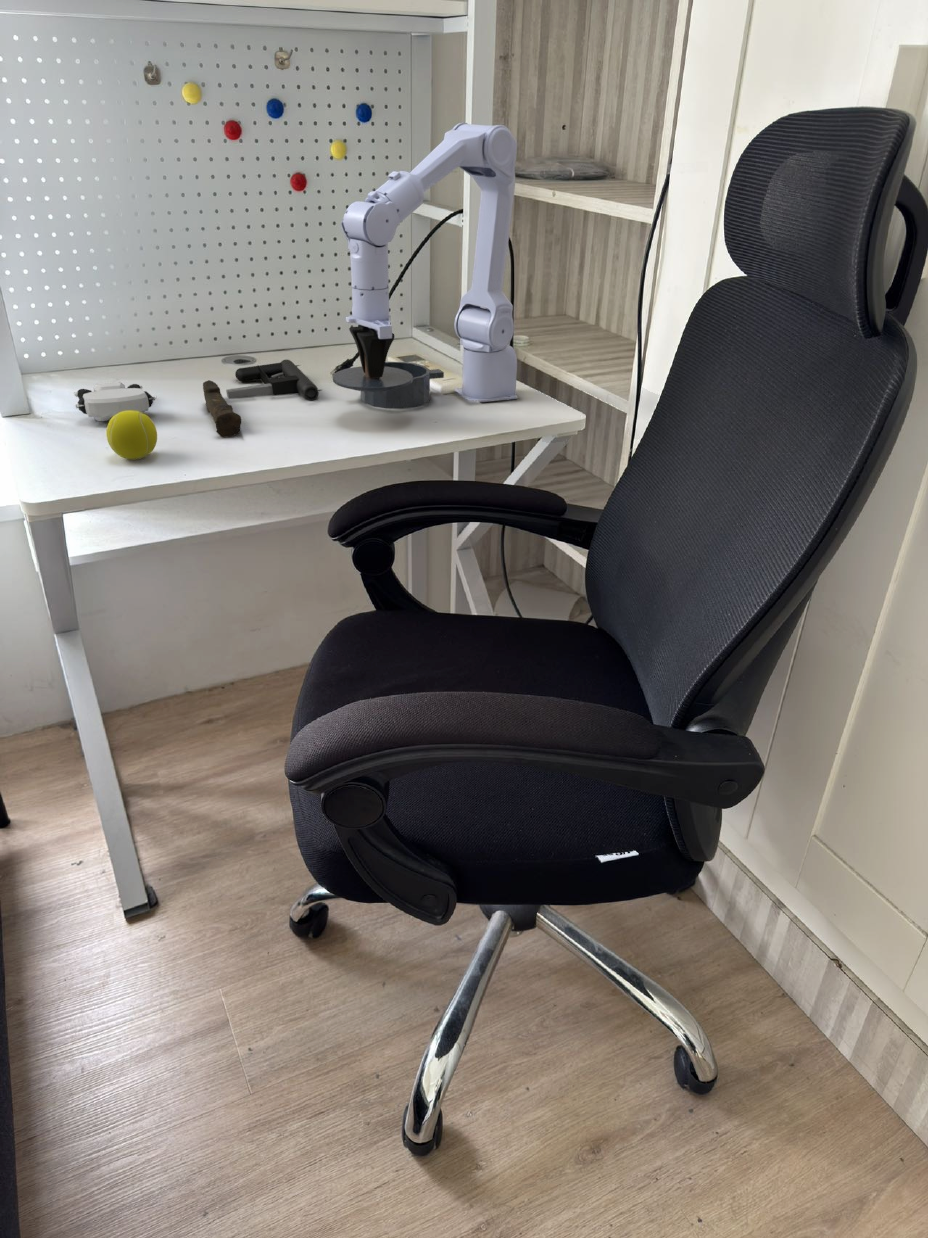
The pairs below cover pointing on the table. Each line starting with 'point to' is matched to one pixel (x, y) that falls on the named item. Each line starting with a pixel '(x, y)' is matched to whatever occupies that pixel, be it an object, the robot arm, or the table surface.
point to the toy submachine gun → (274, 381)
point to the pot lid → (372, 379)
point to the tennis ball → (131, 434)
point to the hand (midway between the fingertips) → (372, 374)
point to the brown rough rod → (221, 411)
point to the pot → (405, 388)
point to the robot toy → (112, 400)
